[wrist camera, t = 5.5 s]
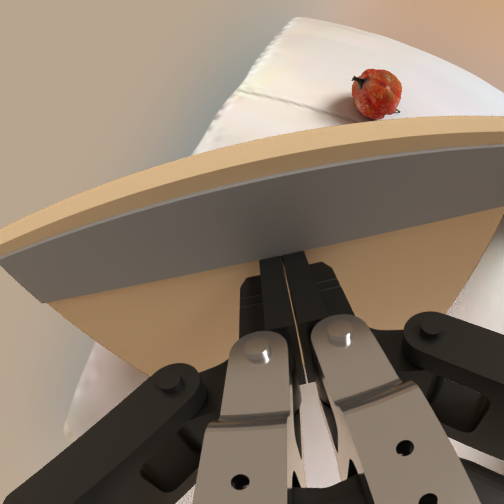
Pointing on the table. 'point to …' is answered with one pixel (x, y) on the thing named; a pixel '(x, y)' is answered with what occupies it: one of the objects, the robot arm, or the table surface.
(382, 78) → the pomegranate
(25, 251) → the box lid
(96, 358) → the table surface
